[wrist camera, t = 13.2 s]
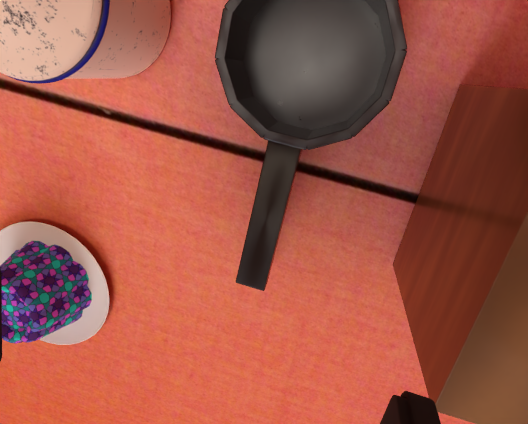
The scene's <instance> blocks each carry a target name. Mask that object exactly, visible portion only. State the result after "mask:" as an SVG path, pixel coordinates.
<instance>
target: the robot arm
mask: <svg viewBox="0 0 528 424" xmlns="http://www.w3.org/2000/svg"><path fill="white" fill-rule="evenodd" d="M1 358H2V280H1V269H0V361H1ZM380 424H441V423H440V420H439V416H438V412H437V408H436V405H435V402H434V401H433V400H432V399H429V398H426V397H423V396H420V395H417V394H414V393H411V392H408V391H404V392H403V393H402V395H401V397H400V396H397V395H393V396H392V398H391V400H390V402H389V404H388V407H387V409H386V411H385V413H384V416H383V418H382V420H381V423H380Z"/></svg>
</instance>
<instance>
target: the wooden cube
mask: <svg viewBox="0 0 528 424" xmlns="http://www.w3.org/2000/svg"><path fill="white" fill-rule="evenodd" d="M393 267H394V271H395V274H396V278H397V282H398V285H399V289H400V293H401V296H402V300H403V304H404V307H405V311H406V315H407V318H408V322H409V326H410V329H411V333H412V337H413V340H414V344H415V348H416V351H417V355H418V359H419V362H420V366H421V370H422V373H423V377H424V381H425V384H426V388H427V392H428V395H429V399H432V400H433V401H434V402H435V405H436V408H437V412H440V413H443V414H446V415H449V416H453V417H456V418H459V419H462V420H466V421H469V422H472V423H475V424H528V89H524V88H508V87H492V86H476V85H460V86H459V89H458V91H457V94H456V97H455V99H454V102H453V105H452V108H451V110H450V113H449V116H448V118H447V121H446V124H445V126H444V129H443V132H442V134H441V137H440V140H439V142H438V145H437V148H436V150H435V153H434V156H433V158H432V161H431V164H430V166H429V169H428V172H427V174H426V177H425V180H424V182H423V185H422V188H421V191H420V193H419V196H418V199H417V201H416V204H415V207H414V209H413V212H412V215H411V217H410V220H409V223H408V225H407V228H406V231H405V233H404V236H403V239H402V241H401V244H400V247H399V249H398V252H397V255H396V257H395V260H394V263H393Z"/></svg>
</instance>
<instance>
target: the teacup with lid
mask: <svg viewBox="0 0 528 424" xmlns="http://www.w3.org/2000/svg"><path fill="white" fill-rule="evenodd" d="M170 21H171V9H170V1H169V0H0V73H2V74H5V75H7V76H9V77H11V78H14V79H16V80H20V81H23V82H29V83H50V82H56V81H59V80H62V79H68V78H126V77H130V76H133V75H136V74H138V73H140V72H142V71H144V70H145V69H147V68H148V67H149V66H150V65H151V64H152V63H153V62H154V61H155V60H156V59H157V58H158V56H159V55H160V53H161V51H162V50H163V48H164V45H165V43H166V40H167V38H168V34H169V29H170Z"/></svg>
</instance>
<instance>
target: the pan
mask: <svg viewBox="0 0 528 424" xmlns="http://www.w3.org/2000/svg"><path fill="white" fill-rule="evenodd" d="M406 49H407V45H406V40H405V34H404V29H403V24H402V19H401V14H400V9H399V3H398V0H229V1H228V2H227V3H226V5H225V8H224V9H223V13H222V19H221V24H220V30H219V36H218V42H217V48H216V54H215V58H216V60H215V62H216V65H217V68H218V71H219V75H220V78H221V81H222V84H223V87H224V91H225V94H226V97H227V100H228V103H229V105H231V106H230V107H231V108H232V109H233V110H234V111H235V112H236V113H237V114H238V115H239V116H240V117H241V118H242V119H243V120H244V121H245V122H246V123H247V124H248V125H249V126H250V127H251V128H252V129H253V130H254V131H255V132H256V133H257V134H258V135H259V136H260V137H261V138H263V137H264V139H266V140H268V144H267V149H266V153H265V157H264V162H263V166H262V170H261V175H260V179H259V183H258V188H257V192H256V196H255V201H254V205H253V209H252V214H251V218H250V222H249V227H248V231H247V235H246V239H245V244H244V248H243V252H242V257H241V261H240V265H239V270H238V274H237V278H236V283H239V284H242V285H246V286H249V287H252V288H256V289H259V290H262V291H264V290H265V287H266V284H267V282H268V278H269V274H270V270H271V267H272V263H273V259H274V255H275V251H276V248H277V244H278V240H279V236H280V232H281V229H282V225H283V221H284V217H285V213H286V210H287V206H288V202H289V198H290V194H291V191H292V187H293V183H294V179H295V175H296V172H297V168H298V164H299V160H300V156H301V152H302V149H304V150H306V149H308V150H310V149H314V148H318V147H321V146H325V145H329V144H332V143H336V142H340V141H343V140H347V139H351V138H352V136H353V137H355V136H356V135H357V134H358V133H359V132H360V131H361V130H362V129H363V128H364V127H365V126H366V125H367V124H368V123H369V122H370V121H371V120H372V119H373V118H374V117H375V116H376V115H377V114H379V113H380V112H381V111H382V110H383V109H384V108H385V107H386V106H387V105H388V104H389V101H391V99H392V96H393V93H394V89H395V86H396V83H397V80H398V77H399V74H400V71H401V68H402V65H403V62H404V59H405V56H406V53H407V51H406Z"/></svg>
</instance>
